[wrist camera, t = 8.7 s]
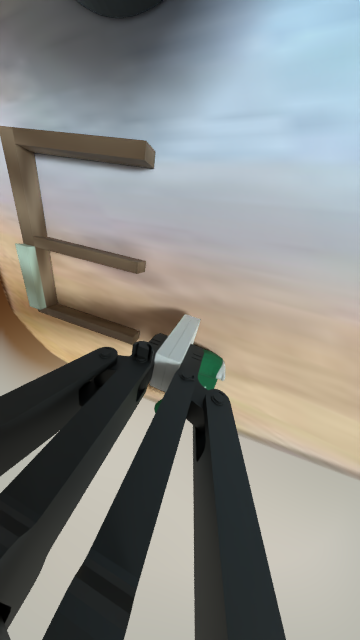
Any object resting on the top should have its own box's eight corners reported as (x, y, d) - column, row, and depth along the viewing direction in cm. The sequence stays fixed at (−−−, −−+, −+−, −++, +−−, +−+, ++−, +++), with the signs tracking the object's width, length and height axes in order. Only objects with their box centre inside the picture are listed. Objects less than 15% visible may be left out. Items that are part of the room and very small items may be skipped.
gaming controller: (159, 391, 22) (204, 403, 22) (151, 419, 18) (204, 433, 18) (173, 332, 18) (228, 346, 18) (166, 353, 14) (234, 370, 14)
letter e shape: (18, 136, 15) (-15, 119, 13) (155, 151, 13) (140, 133, 11) (49, 307, 23) (31, 313, 21) (139, 338, 20) (128, 348, 18)
